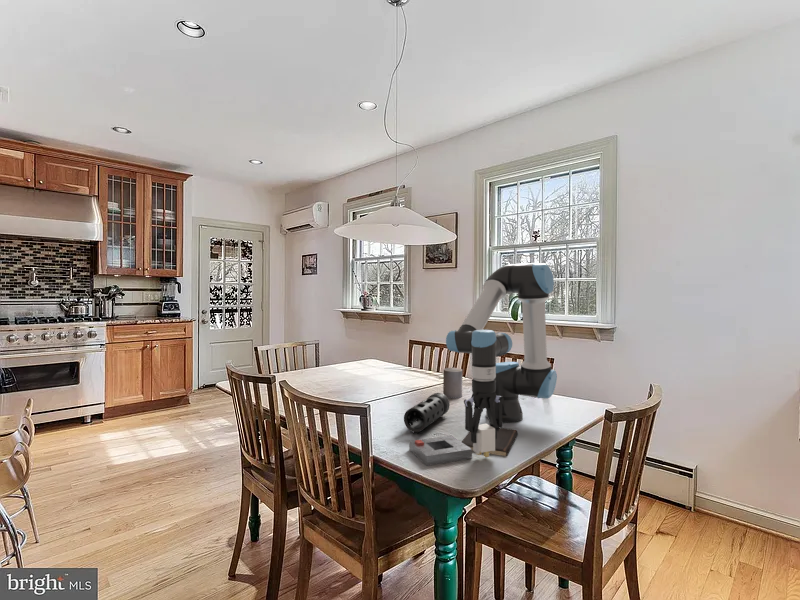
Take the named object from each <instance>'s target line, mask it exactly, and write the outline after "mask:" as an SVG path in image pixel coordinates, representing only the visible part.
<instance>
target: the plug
mask: <svg viewBox="0 0 800 600" xmlns="http://www.w3.org/2000/svg"><path fill="white" fill-rule="evenodd" d="M477 432H478V433H480V454H477V453H475V454H476V455H477V456H480V455H482V454H483V457H485V458H489V457H490V454H489V451H494V450H495V428H494V427H492V426H490V424H488V423H482V424H479V426H478V431H477ZM483 452H484V453H483Z"/></svg>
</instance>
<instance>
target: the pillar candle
mask: <svg viewBox="0 0 800 600" xmlns="http://www.w3.org/2000/svg"><path fill="white" fill-rule="evenodd" d="M442 377H443V379H442V380H443V385H442V386H443V387H442V388H443V391H442V394H444V395H446V396H447V398H448V399H460V397H461V398H463V369H462V368H458V367H454V366H451V367H446V368H443V375H442Z"/></svg>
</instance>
